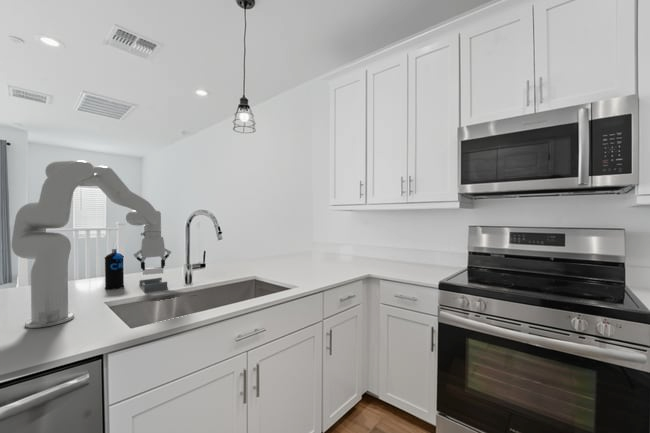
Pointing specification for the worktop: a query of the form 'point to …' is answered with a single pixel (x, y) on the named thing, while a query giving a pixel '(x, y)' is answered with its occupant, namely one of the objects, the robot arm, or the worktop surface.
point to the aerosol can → (114, 271)
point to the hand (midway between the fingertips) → (153, 268)
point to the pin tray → (153, 285)
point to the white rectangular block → (153, 270)
